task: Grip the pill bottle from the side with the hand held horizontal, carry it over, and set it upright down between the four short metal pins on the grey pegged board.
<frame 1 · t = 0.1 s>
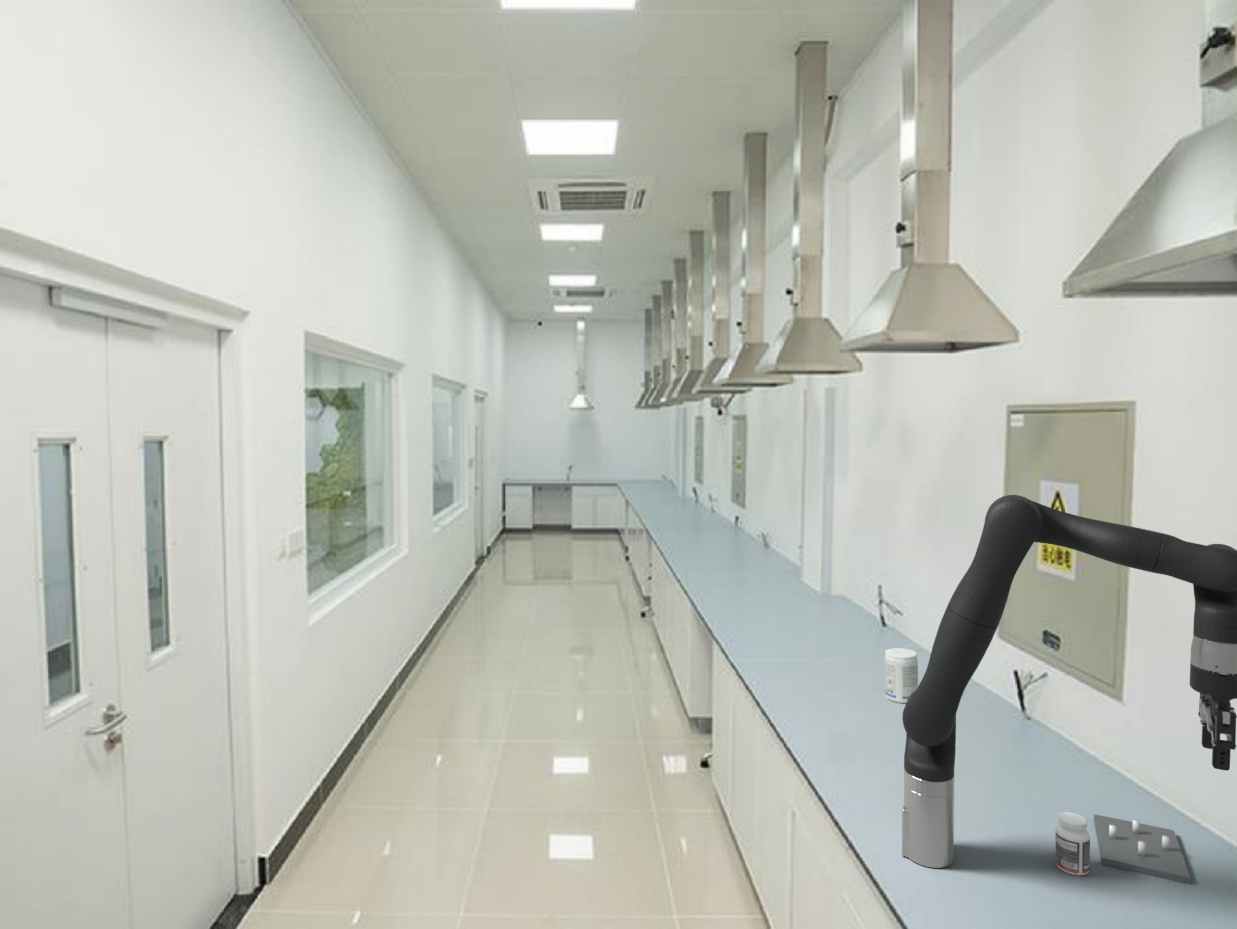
hand: (1215, 758, 126), 29 cm above the worktop, tool pointing down, fingers open, 8 cm apart
pill bottle: (1072, 868, 144), on the worktop
supplement tub: (901, 699, 231), on the worktop
grey pegged board: (1138, 849, 149), on the worktop
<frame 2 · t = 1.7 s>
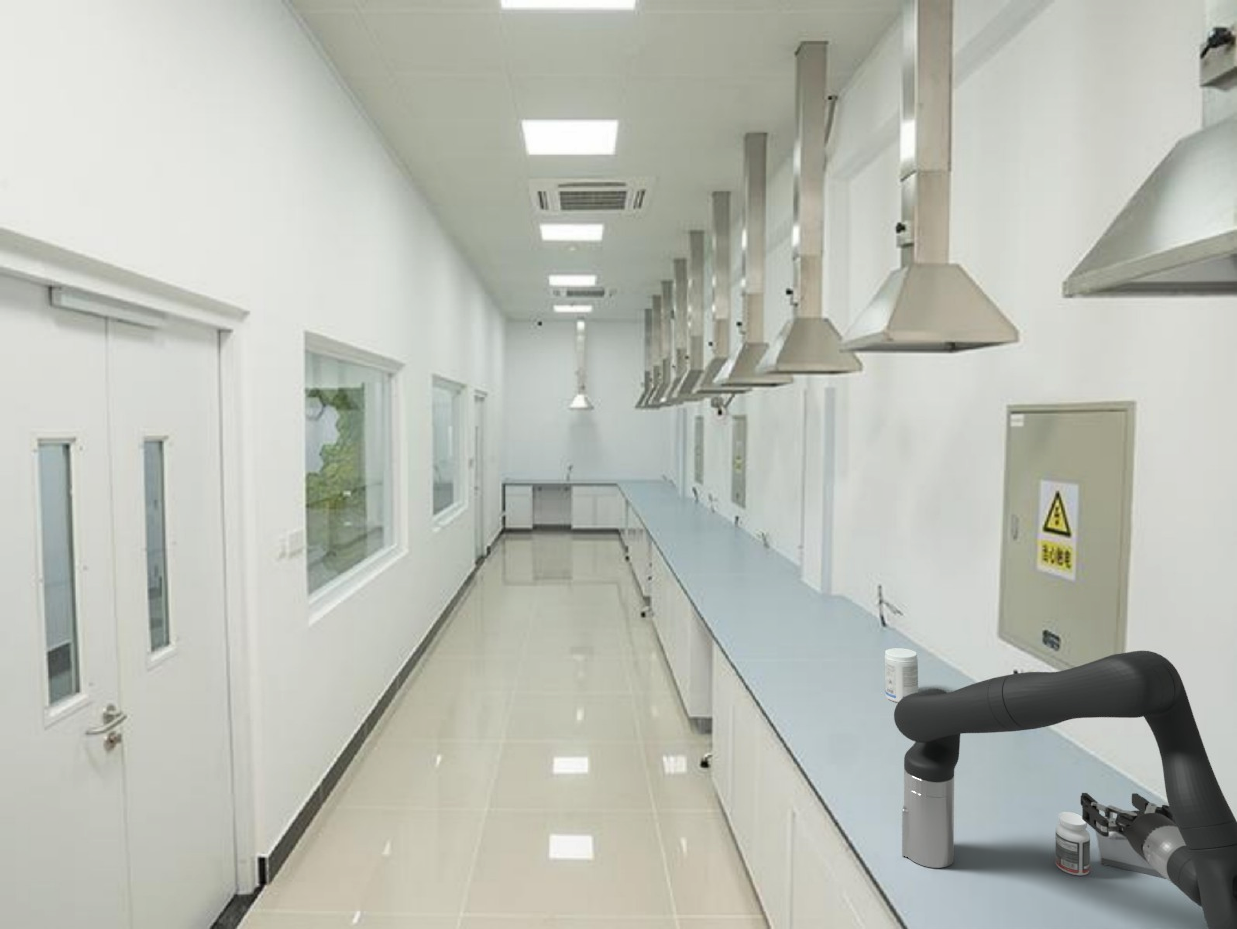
hand: (1108, 797, 132), 20 cm above the worktop, tool horizontal, fingers open, 8 cm apart
nothing on the worktop moved.
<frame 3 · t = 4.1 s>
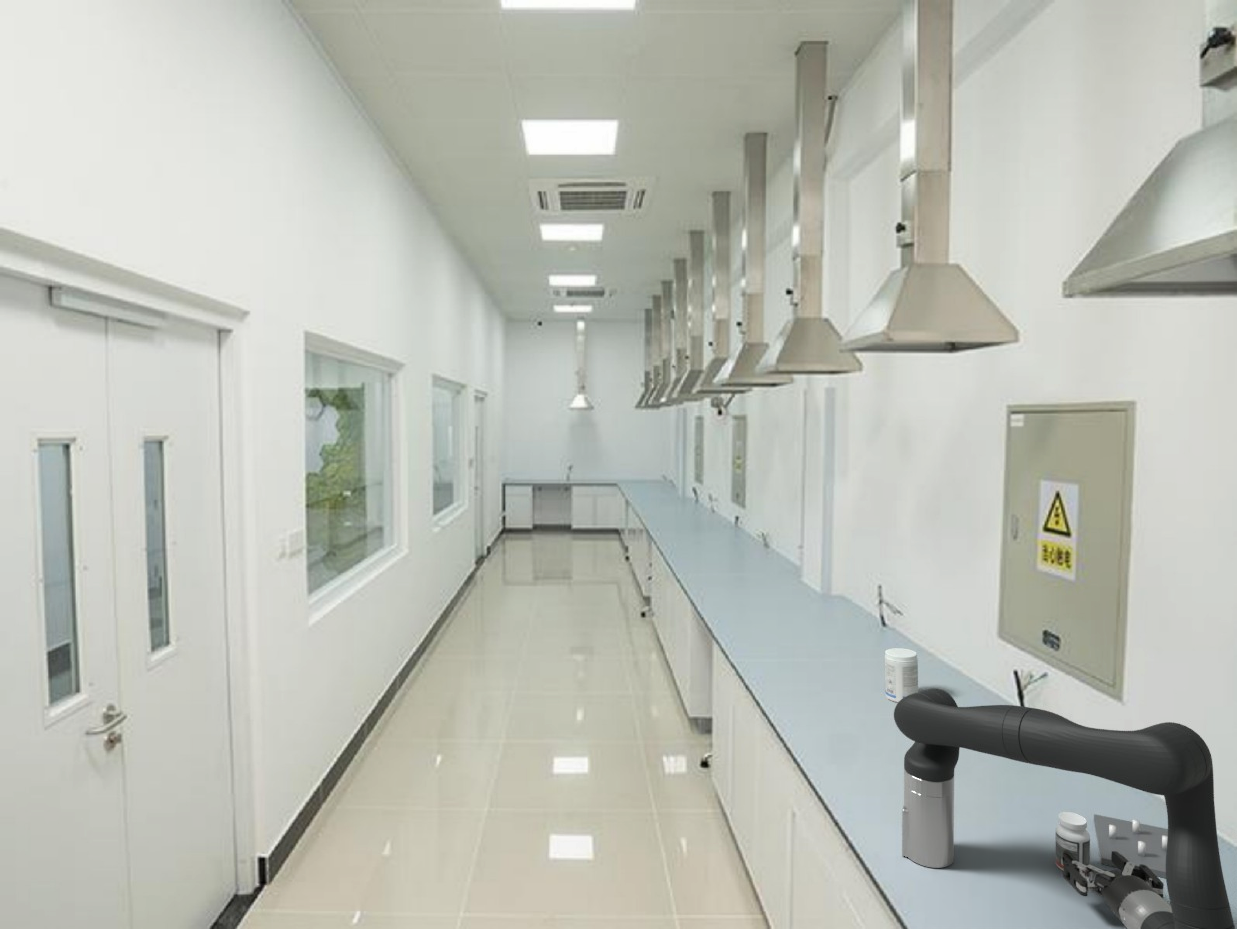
hand: (1089, 854, 138), 6 cm above the worktop, tool horizontal, fingers open, 8 cm apart
nothing on the worktop moved.
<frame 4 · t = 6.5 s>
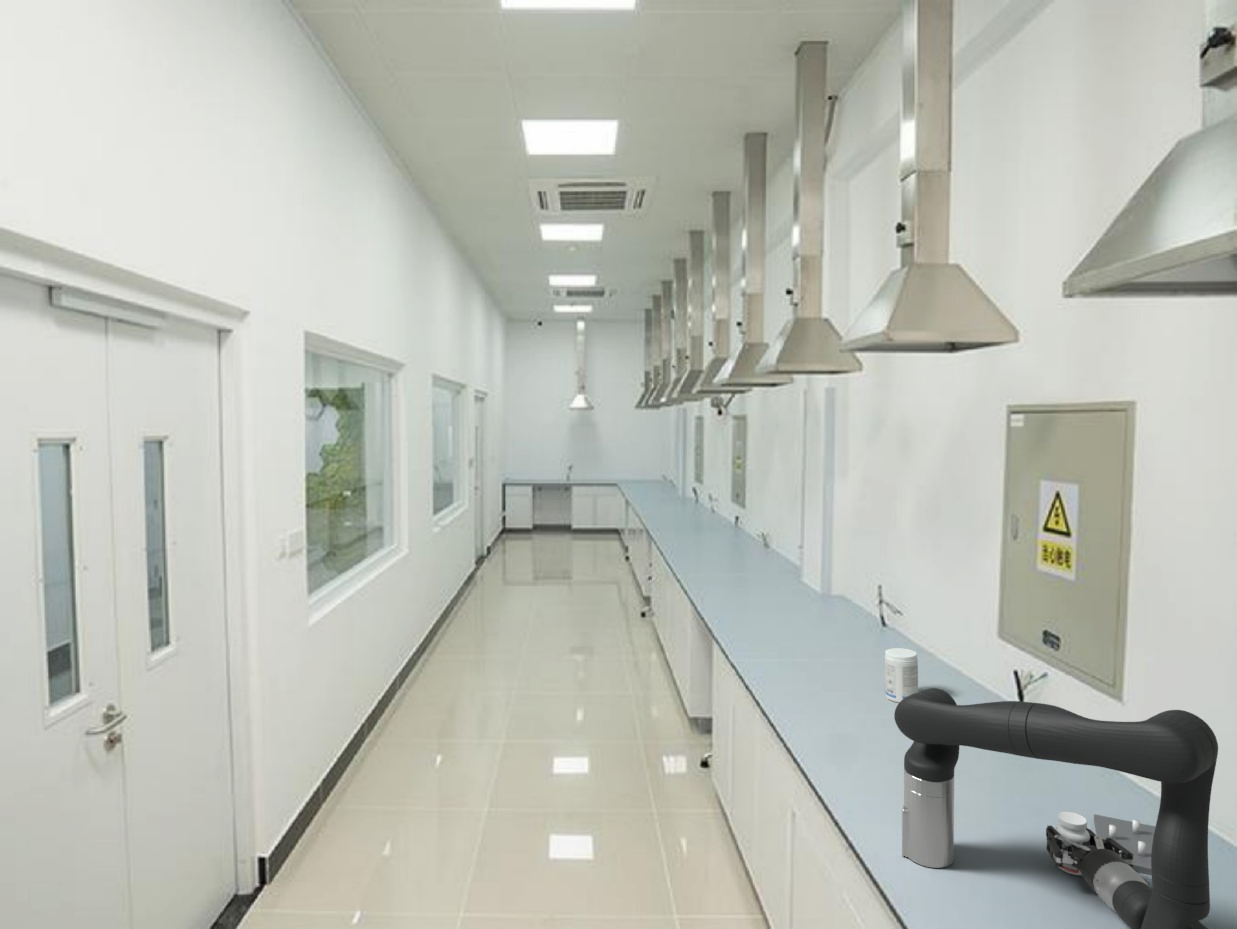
hand: (1065, 830, 146), 6 cm above the worktop, tool horizontal, fingers closed on pill bottle, 5 cm apart
pill bottle: (1072, 868, 144), on the worktop, touching gripper
everything else where it was.
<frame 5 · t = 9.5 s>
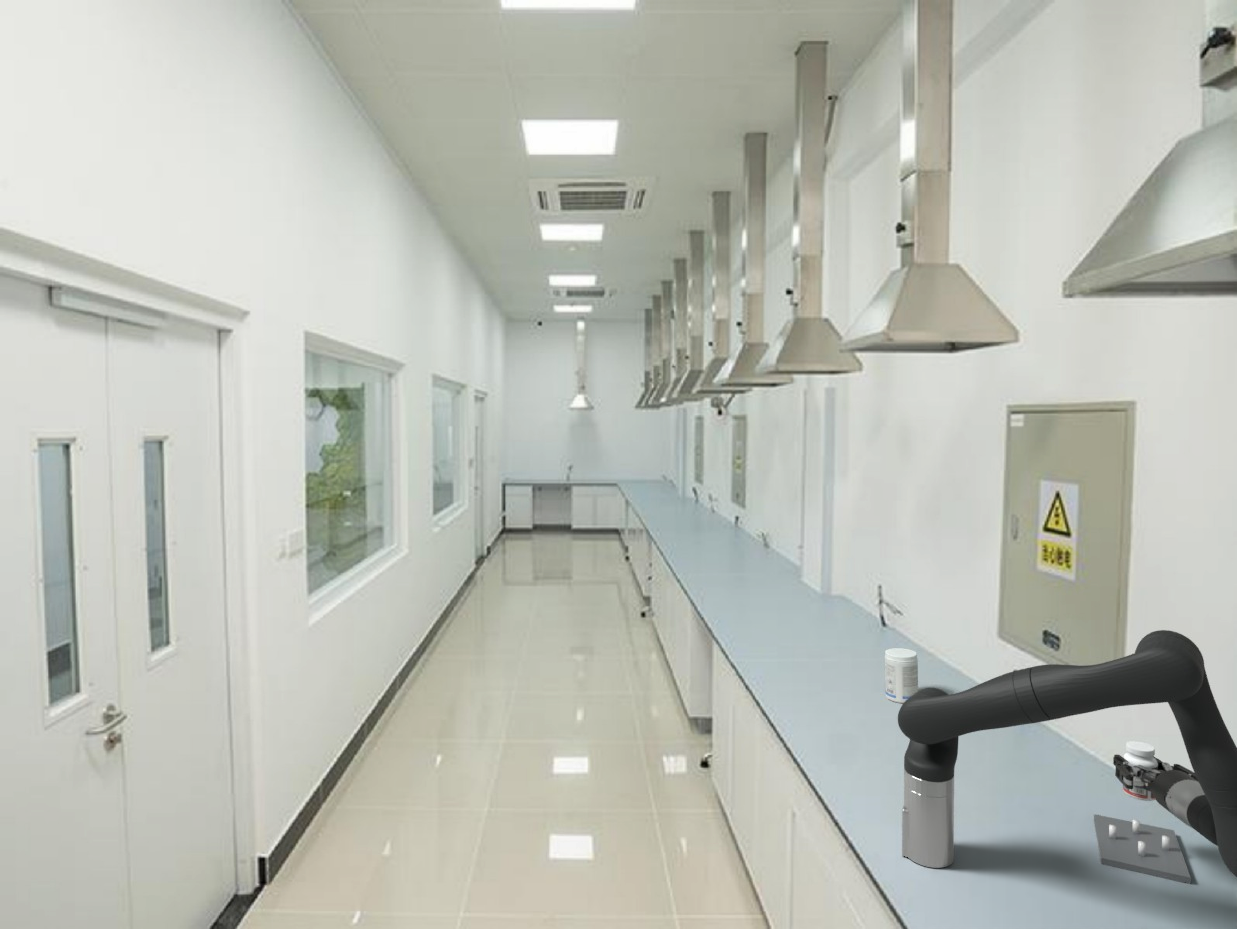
hand: (1132, 759, 150), 18 cm above the worktop, tool horizontal, fingers closed on pill bottle, 5 cm apart
pill bottle: (1139, 795, 148), point 12 cm above the worktop, touching gripper
everything else where it was.
when the fingers open (8 cm above the worktop, at t = 12.7 s): pill bottle drops 1 cm, resting on grey pegged board.
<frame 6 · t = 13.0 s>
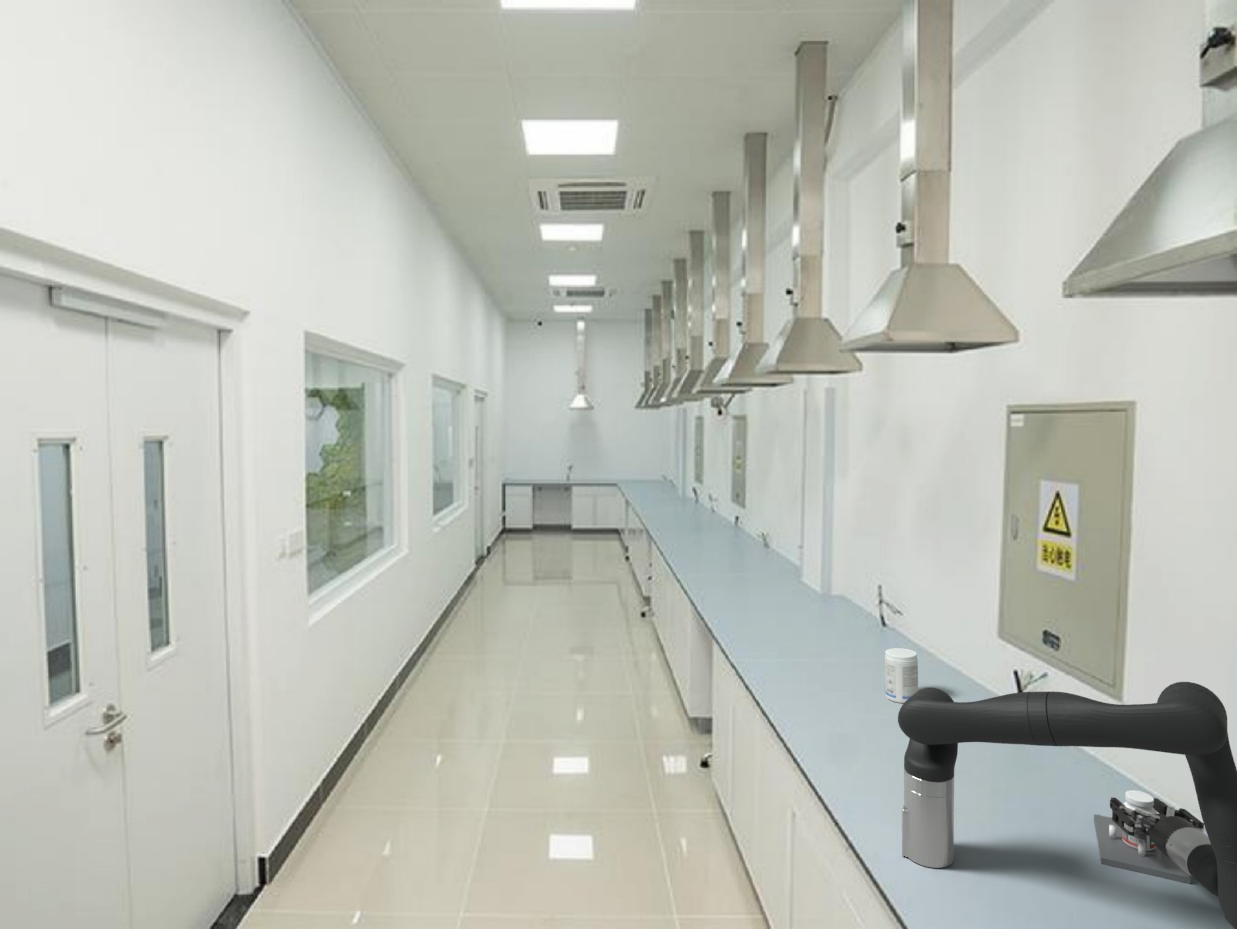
hand: (1133, 801, 151), 9 cm above the worktop, tool horizontal, fingers open, 7 cm apart
pill bottle: (1138, 844, 149), point 1 cm above the worktop, touching grey pegged board
everything else where it was.
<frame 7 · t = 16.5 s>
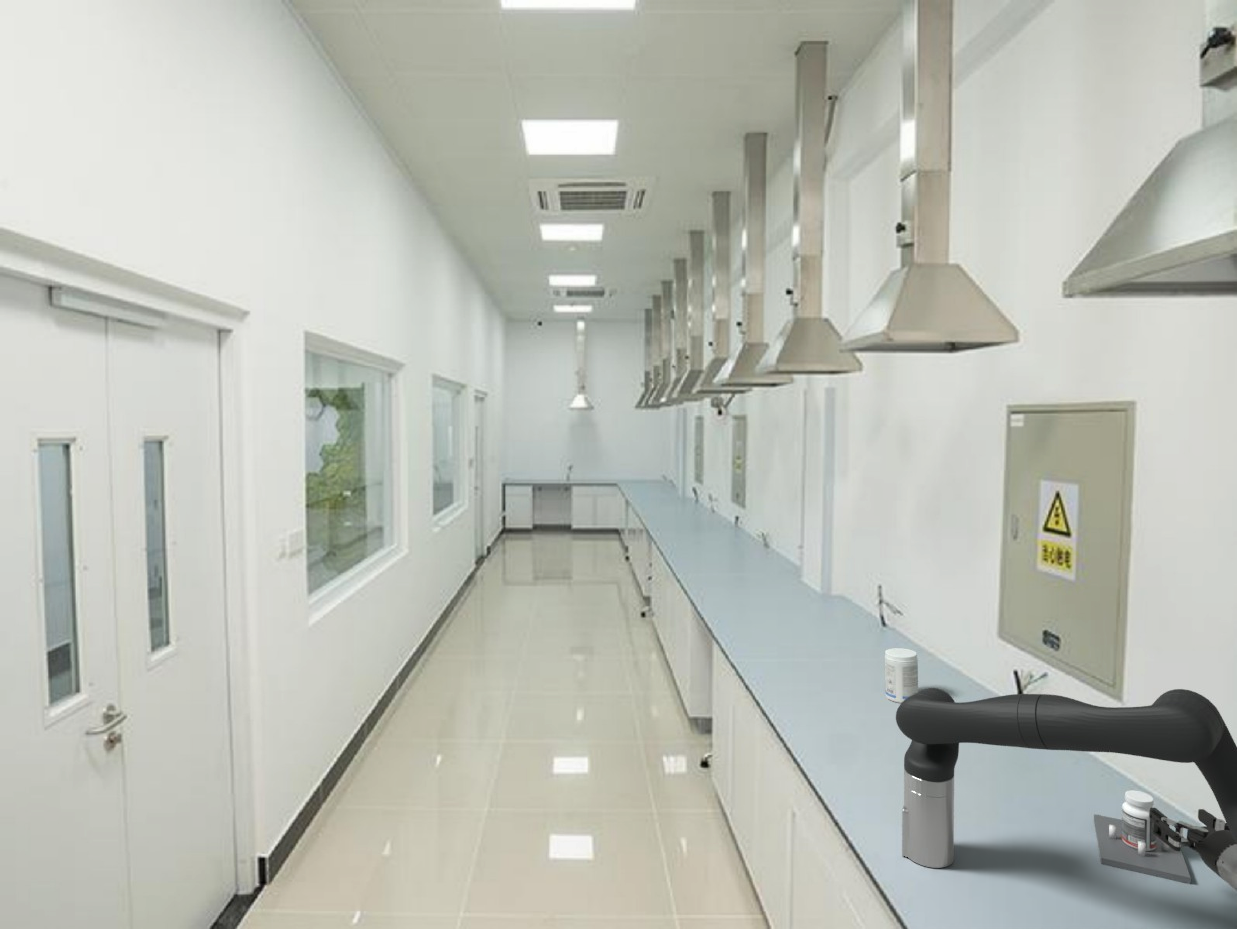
hand: (1175, 812, 138), 13 cm above the worktop, tool horizontal, fingers open, 8 cm apart
nothing on the worktop moved.
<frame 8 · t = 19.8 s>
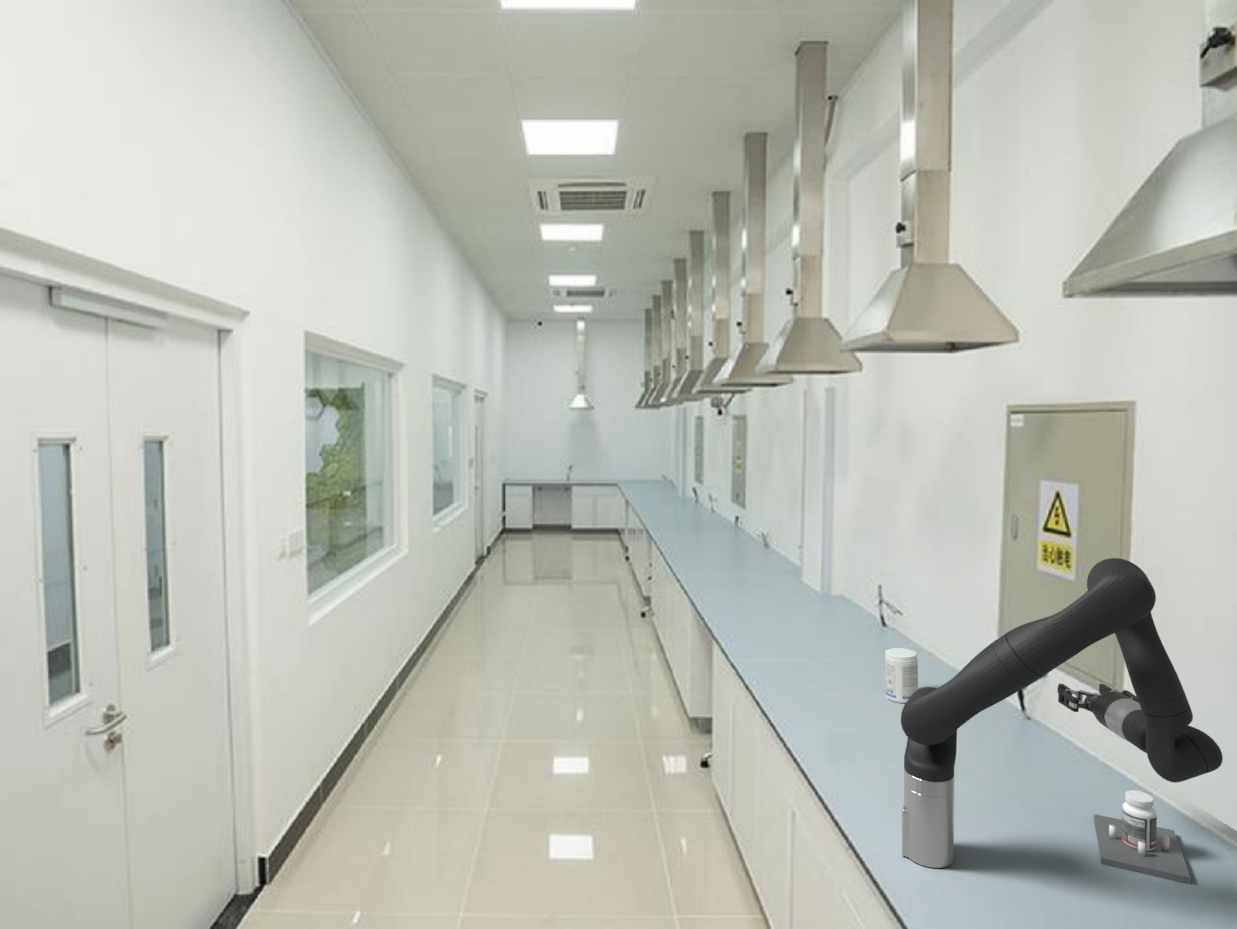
hand: (1080, 687, 162), 28 cm above the worktop, tool horizontal, fingers open, 8 cm apart
nothing on the worktop moved.
at the end: pill bottle 0.2 cm off-centre on the grey pegged board, point 1.0 cm above the grey pegged board's base; pill bottle tilted 0°; the gripper is holding nothing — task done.
